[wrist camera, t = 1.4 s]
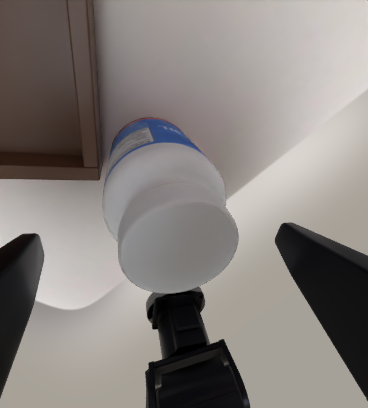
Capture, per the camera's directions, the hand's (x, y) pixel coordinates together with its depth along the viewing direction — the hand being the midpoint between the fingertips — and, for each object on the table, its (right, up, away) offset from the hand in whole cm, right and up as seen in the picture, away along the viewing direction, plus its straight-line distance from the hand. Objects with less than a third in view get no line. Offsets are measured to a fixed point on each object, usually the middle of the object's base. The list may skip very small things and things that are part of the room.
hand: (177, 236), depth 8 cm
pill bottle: (-2, +5, +7) cm, 9 cm away
